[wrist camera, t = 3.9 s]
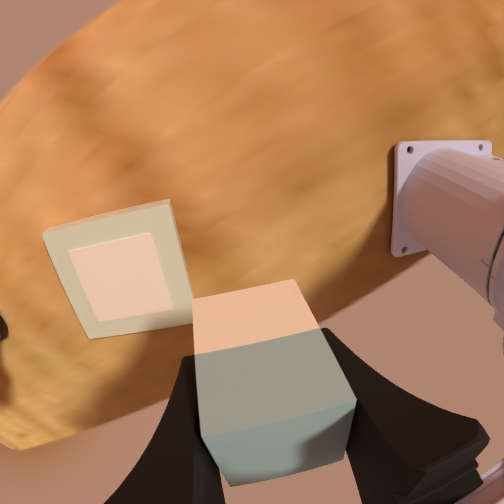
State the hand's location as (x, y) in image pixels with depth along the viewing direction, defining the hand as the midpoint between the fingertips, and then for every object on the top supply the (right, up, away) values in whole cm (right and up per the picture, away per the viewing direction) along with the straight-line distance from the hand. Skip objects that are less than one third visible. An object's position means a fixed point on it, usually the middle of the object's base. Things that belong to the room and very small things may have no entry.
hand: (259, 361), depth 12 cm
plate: (-8, +3, +7) cm, 11 cm away
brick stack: (0, +1, +2) cm, 2 cm away
